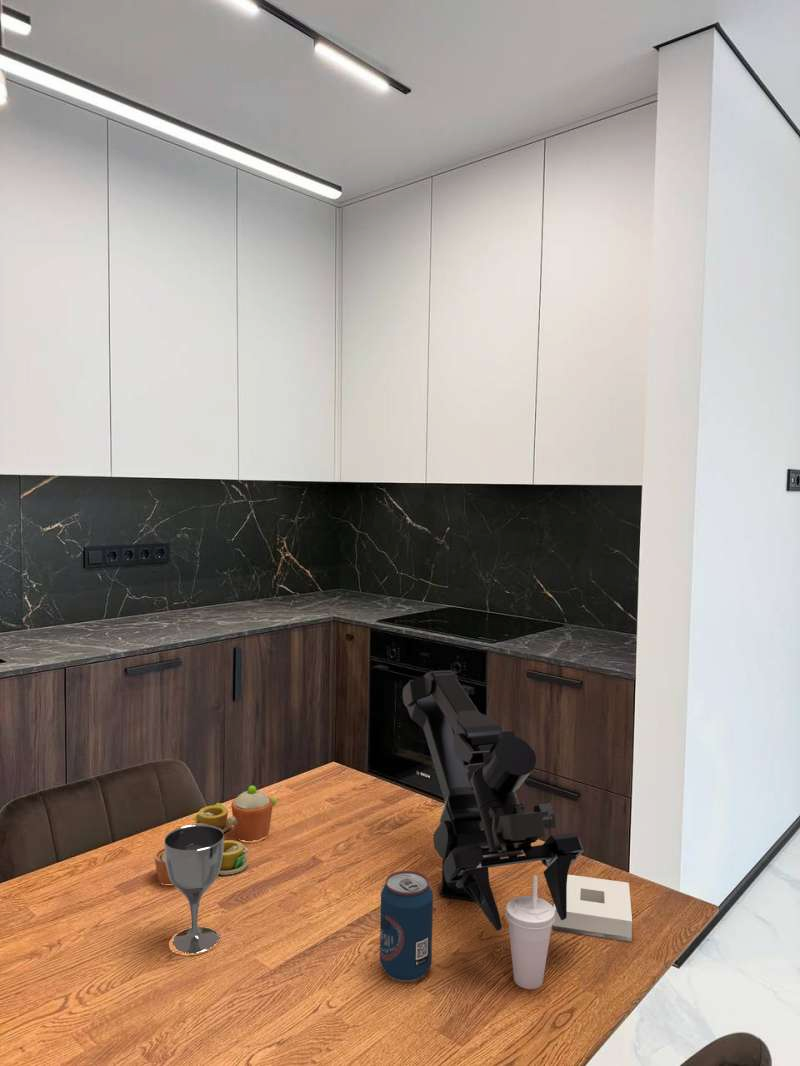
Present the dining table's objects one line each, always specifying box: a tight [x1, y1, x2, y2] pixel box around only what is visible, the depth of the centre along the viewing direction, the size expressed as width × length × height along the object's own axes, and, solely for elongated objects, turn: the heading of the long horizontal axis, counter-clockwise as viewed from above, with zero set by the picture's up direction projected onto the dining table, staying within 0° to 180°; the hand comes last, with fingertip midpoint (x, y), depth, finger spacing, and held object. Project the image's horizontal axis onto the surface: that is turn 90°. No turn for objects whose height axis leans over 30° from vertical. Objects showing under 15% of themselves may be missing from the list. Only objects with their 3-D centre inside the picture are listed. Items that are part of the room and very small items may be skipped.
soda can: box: [379, 870, 434, 983], centre depth 102 cm, size 7×7×12 cm
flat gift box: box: [552, 874, 633, 943], centre depth 116 cm, size 11×11×3 cm
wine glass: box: [164, 823, 225, 954], centre depth 107 cm, size 8×8×15 cm
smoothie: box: [504, 875, 555, 990], centre depth 100 cm, size 6×6×14 cm
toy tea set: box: [154, 785, 278, 884], centre depth 133 cm, size 26×16×10 cm, turn 172°
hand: (532, 924), depth 99 cm, fingers open, 9 cm apart
